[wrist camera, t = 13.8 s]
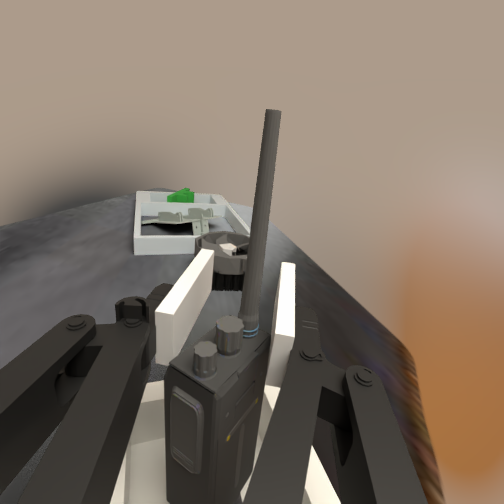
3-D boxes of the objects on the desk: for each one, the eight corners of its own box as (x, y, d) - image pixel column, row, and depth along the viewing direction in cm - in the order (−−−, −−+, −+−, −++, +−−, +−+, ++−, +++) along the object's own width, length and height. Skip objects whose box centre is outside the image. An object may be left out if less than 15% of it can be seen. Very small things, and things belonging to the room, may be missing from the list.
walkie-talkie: (213, 435, 20) (240, 107, 12) (256, 466, 19) (318, 115, 11) (158, 503, 16) (144, 91, 8) (205, 549, 15) (244, 98, 7)
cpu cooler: (195, 228, 48) (257, 232, 50) (194, 260, 50) (253, 262, 52) (193, 256, 38) (270, 259, 40) (192, 293, 41) (264, 295, 43)
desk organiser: (137, 202, 74) (136, 190, 73) (219, 205, 81) (220, 194, 80) (134, 255, 48) (133, 238, 47) (255, 252, 56) (257, 237, 54)
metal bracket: (231, 206, 62) (166, 214, 52) (234, 233, 63) (171, 247, 53) (193, 206, 72) (132, 213, 62) (196, 230, 74) (137, 241, 63)
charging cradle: (112, 414, 24) (107, 367, 21) (255, 388, 28) (262, 345, 26) (71, 842, 10) (47, 823, 8) (365, 665, 14) (400, 623, 12)
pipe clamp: (181, 216, 68) (181, 198, 66) (166, 214, 69) (166, 196, 67) (197, 205, 78) (198, 189, 76) (185, 203, 78) (185, 187, 76)
